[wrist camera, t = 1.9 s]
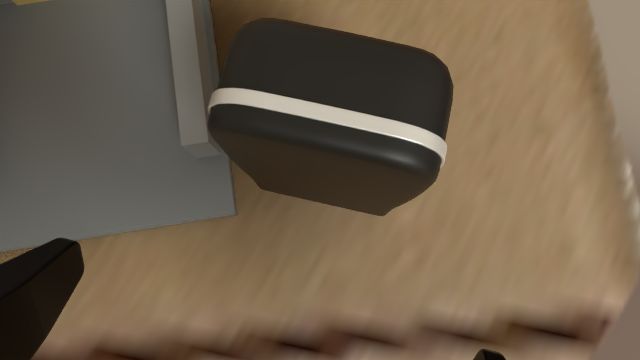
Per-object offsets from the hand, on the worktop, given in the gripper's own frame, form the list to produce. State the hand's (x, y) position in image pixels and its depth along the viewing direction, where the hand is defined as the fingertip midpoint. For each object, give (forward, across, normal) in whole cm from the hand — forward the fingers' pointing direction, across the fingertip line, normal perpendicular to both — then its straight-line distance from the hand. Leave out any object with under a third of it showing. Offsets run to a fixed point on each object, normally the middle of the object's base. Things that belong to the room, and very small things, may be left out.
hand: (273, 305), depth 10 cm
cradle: (+13, +14, +4) cm, 19 cm away
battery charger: (+13, 0, +5) cm, 13 cm away
